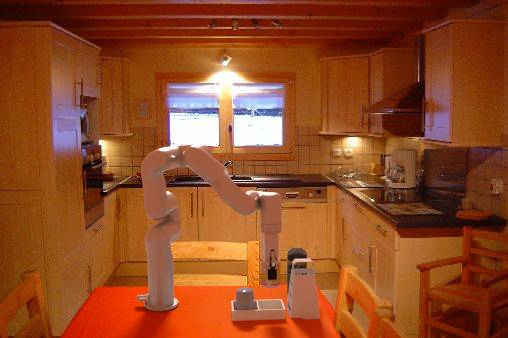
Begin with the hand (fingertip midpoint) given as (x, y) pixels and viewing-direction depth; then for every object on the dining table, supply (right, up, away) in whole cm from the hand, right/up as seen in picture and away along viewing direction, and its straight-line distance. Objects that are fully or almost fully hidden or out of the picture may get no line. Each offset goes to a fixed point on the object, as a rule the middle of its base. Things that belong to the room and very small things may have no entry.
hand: (271, 275), depth 187 cm
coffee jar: (+11, -12, +23) cm, 28 cm away
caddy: (-5, -15, +1) cm, 15 cm away
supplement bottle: (0, -4, 0) cm, 4 cm away
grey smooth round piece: (-9, -14, +1) cm, 17 cm away
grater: (+12, -15, +4) cm, 19 cm away
